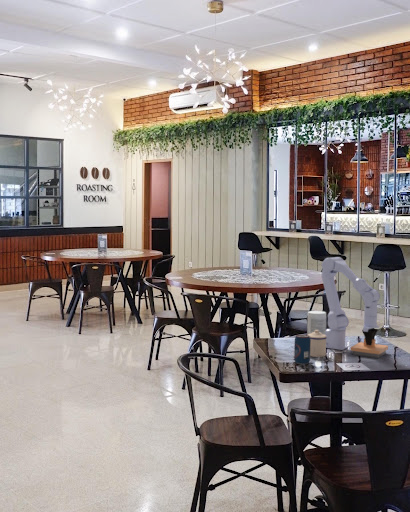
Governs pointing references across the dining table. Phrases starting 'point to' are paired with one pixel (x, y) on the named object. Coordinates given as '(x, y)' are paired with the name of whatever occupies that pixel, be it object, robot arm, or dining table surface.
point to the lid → (369, 347)
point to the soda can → (302, 349)
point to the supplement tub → (316, 322)
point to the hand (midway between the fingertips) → (369, 344)
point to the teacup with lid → (317, 344)
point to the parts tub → (368, 354)
